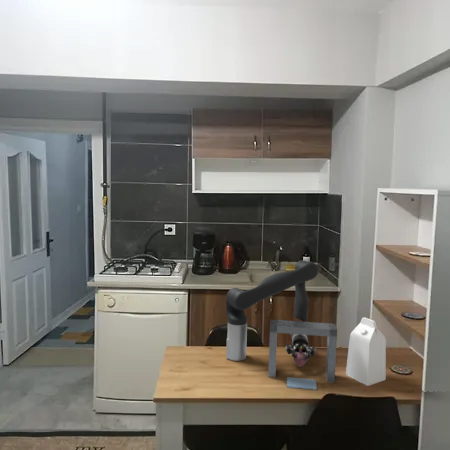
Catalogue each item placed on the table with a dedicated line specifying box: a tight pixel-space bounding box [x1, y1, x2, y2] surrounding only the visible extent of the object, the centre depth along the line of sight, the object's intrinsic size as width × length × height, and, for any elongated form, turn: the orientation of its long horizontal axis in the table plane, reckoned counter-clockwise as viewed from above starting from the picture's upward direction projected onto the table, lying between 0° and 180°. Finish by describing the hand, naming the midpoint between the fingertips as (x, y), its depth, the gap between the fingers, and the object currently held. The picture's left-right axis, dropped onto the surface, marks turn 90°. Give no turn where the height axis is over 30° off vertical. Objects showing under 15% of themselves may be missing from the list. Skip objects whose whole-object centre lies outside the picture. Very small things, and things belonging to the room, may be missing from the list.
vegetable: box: [293, 346, 309, 368], centre depth 189 cm, size 6×6×10 cm
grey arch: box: [267, 319, 338, 384], centre depth 184 cm, size 28×8×23 cm, turn 82°
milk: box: [345, 317, 387, 387], centre depth 183 cm, size 12×12×26 cm
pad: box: [286, 376, 318, 391], centre depth 177 cm, size 12×8×1 cm, turn 82°
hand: (301, 356), depth 186 cm, fingers closed on vegetable, 5 cm apart
